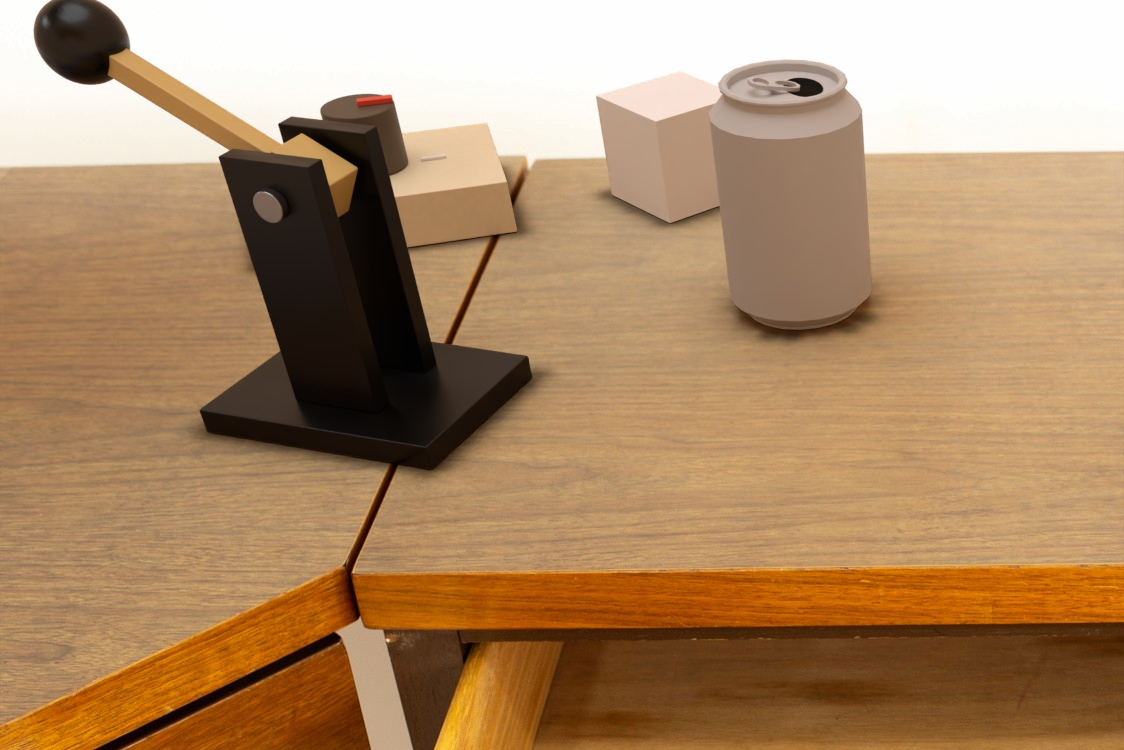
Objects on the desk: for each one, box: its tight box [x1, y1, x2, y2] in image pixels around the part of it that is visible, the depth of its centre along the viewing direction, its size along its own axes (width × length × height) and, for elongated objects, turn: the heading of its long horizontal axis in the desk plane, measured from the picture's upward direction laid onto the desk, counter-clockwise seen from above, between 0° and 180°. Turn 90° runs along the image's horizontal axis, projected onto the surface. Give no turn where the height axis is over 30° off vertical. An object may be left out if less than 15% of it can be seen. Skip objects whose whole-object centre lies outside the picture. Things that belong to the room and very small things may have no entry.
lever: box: [33, 0, 358, 217], centre depth 68 cm, size 14×4×4 cm, turn 73°
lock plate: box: [389, 122, 518, 248], centre depth 92 cm, size 14×10×3 cm
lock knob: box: [319, 93, 408, 175], centre depth 90 cm, size 4×4×4 cm
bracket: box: [198, 115, 533, 470], centre depth 72 cm, size 12×9×13 cm
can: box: [709, 59, 873, 331], centre depth 80 cm, size 8×8×12 cm
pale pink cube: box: [595, 70, 722, 224], centre depth 94 cm, size 6×6×6 cm
